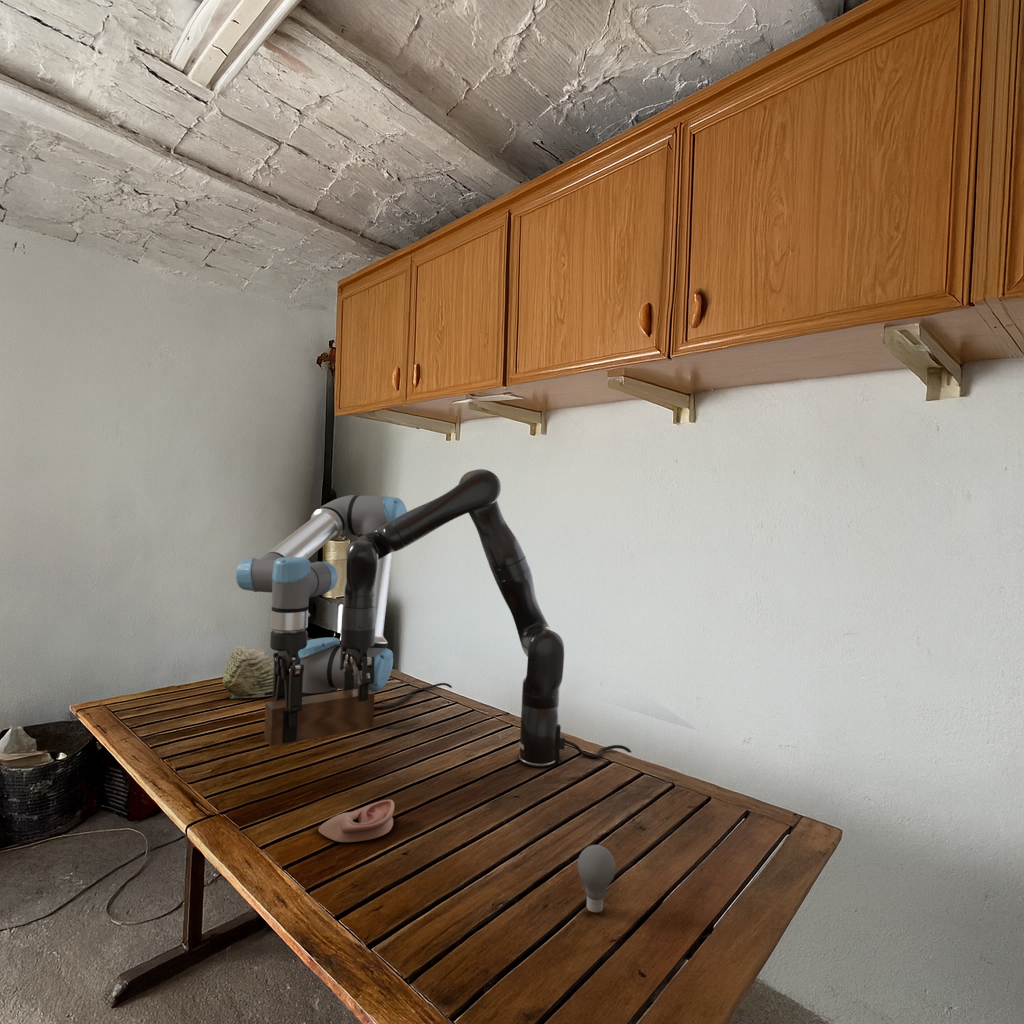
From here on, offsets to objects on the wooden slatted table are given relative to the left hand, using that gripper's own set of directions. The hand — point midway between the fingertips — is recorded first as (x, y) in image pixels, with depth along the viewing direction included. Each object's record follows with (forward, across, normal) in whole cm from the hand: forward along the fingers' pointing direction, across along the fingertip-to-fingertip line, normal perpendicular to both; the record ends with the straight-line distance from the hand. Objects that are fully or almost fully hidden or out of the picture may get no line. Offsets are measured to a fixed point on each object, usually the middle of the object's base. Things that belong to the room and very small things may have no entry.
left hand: (285, 736), depth 136 cm
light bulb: (+11, -66, -29) cm, 73 cm away
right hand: (-7, 0, -16) cm, 17 cm away
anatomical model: (+11, -24, -7) cm, 27 cm away
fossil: (+11, +68, -11) cm, 70 cm away
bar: (+1, 0, -8) cm, 8 cm away
